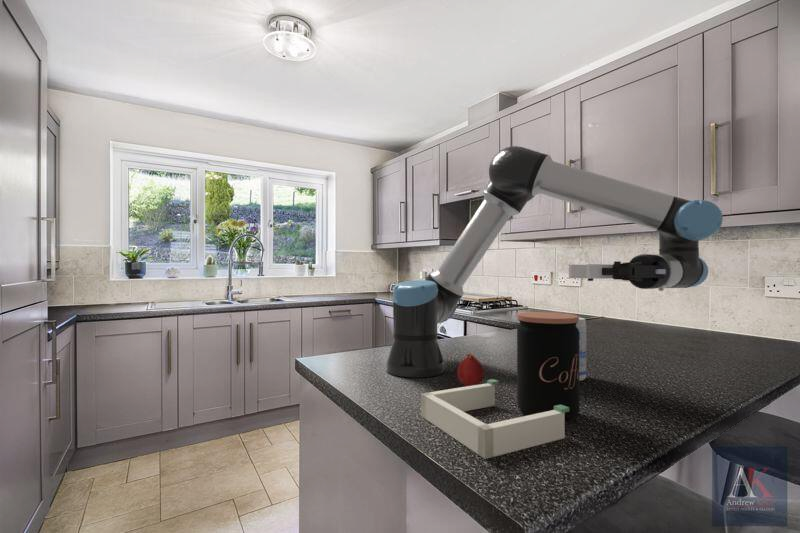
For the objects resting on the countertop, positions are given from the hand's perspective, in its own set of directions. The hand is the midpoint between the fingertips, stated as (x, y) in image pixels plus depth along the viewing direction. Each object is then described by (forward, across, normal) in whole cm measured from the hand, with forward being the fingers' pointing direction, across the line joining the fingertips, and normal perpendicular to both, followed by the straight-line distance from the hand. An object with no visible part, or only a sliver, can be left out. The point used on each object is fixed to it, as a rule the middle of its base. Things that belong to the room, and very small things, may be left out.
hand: (579, 271), depth 76 cm
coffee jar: (+9, 0, -26) cm, 28 cm away
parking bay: (+22, 0, -26) cm, 34 cm away
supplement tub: (-14, +16, -26) cm, 34 cm away
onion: (+13, +18, -26) cm, 34 cm away
